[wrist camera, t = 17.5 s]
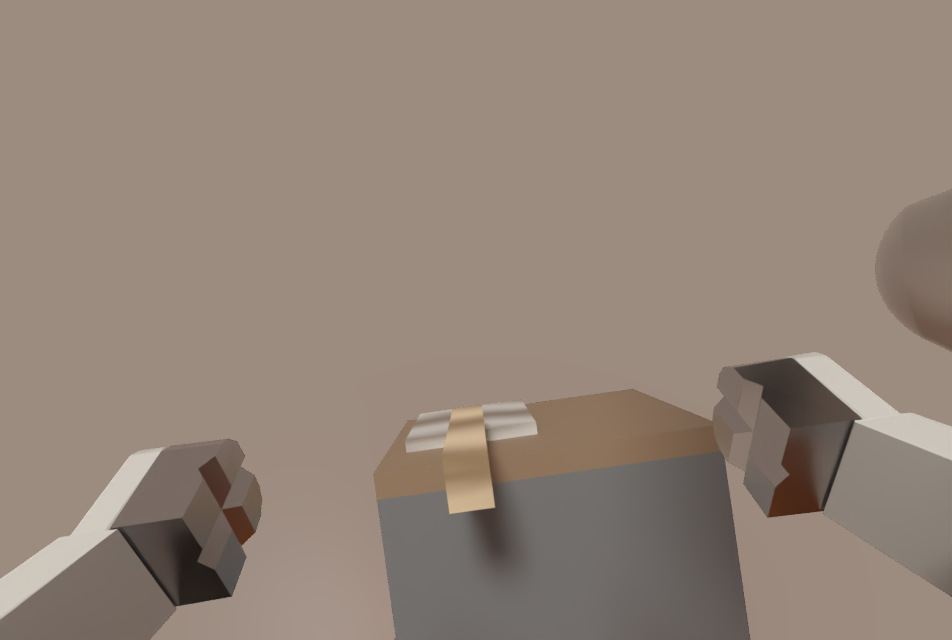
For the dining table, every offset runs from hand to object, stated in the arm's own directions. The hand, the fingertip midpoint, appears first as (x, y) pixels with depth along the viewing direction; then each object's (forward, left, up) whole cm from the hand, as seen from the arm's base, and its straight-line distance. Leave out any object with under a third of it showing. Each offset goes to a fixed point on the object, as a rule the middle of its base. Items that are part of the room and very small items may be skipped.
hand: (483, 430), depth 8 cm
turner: (+1, -24, -6) cm, 25 cm away
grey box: (-3, -29, -32) cm, 44 cm away
